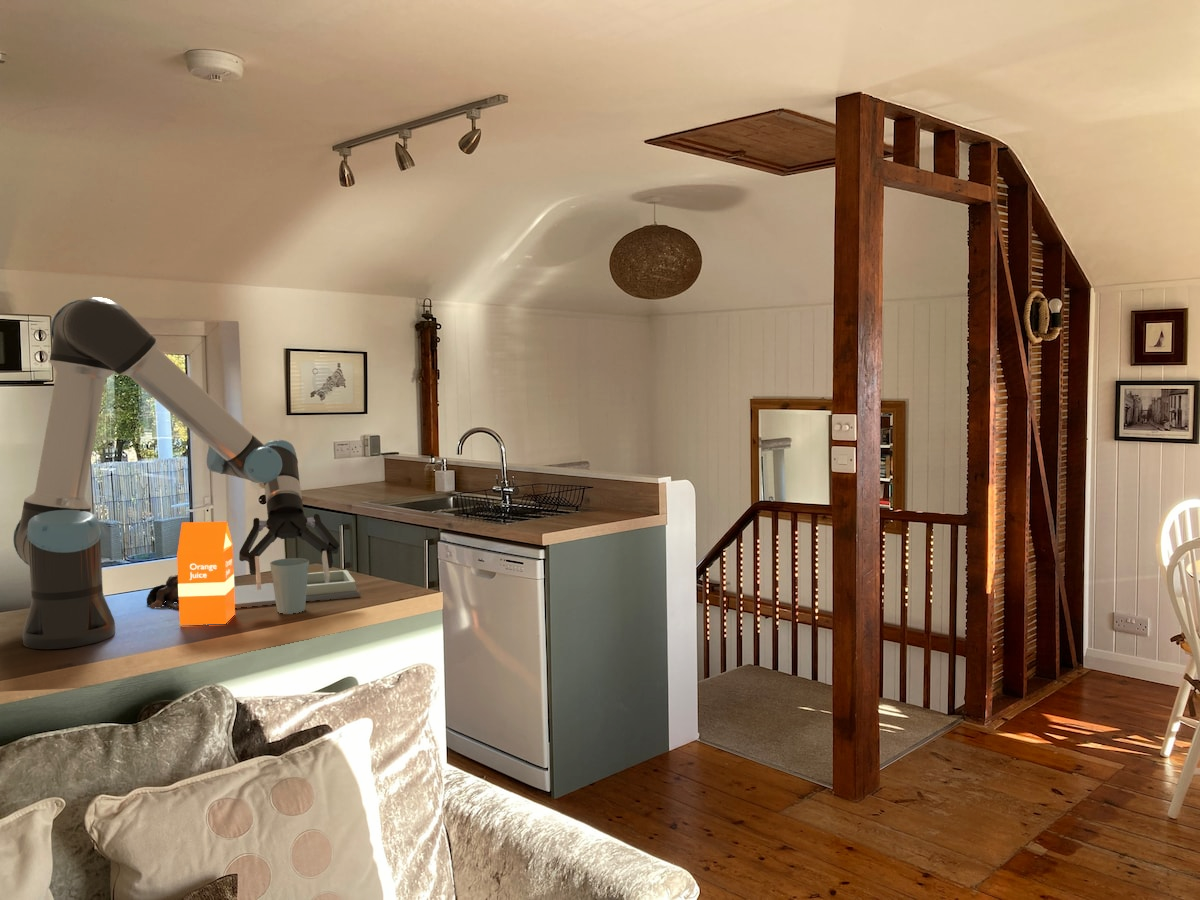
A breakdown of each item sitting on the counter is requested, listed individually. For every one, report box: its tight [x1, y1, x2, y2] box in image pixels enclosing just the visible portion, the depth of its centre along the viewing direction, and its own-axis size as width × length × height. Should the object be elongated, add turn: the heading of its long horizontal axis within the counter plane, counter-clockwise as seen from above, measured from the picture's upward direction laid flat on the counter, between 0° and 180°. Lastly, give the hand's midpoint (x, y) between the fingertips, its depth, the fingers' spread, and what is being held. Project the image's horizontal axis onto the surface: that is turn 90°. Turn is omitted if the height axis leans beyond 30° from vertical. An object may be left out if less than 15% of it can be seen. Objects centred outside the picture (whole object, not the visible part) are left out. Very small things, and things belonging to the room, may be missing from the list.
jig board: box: [234, 569, 360, 609], centre depth 211 cm, size 26×17×3 cm, turn 113°
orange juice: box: [176, 521, 236, 627], centre depth 189 cm, size 8×9×20 cm
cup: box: [269, 557, 310, 615], centre depth 196 cm, size 8×8×10 cm
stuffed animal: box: [146, 574, 179, 610], centre depth 205 cm, size 12×10×12 cm
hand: (293, 583), depth 196 cm, fingers open, 13 cm apart
